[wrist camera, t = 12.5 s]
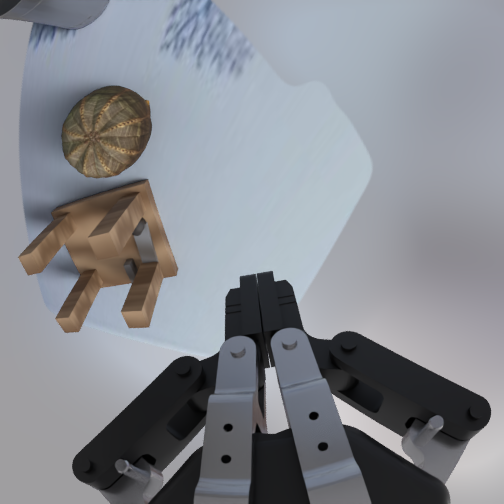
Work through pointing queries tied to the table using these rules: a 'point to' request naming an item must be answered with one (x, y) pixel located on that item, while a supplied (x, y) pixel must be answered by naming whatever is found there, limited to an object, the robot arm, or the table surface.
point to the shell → (106, 131)
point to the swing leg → (143, 281)
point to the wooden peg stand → (99, 245)
